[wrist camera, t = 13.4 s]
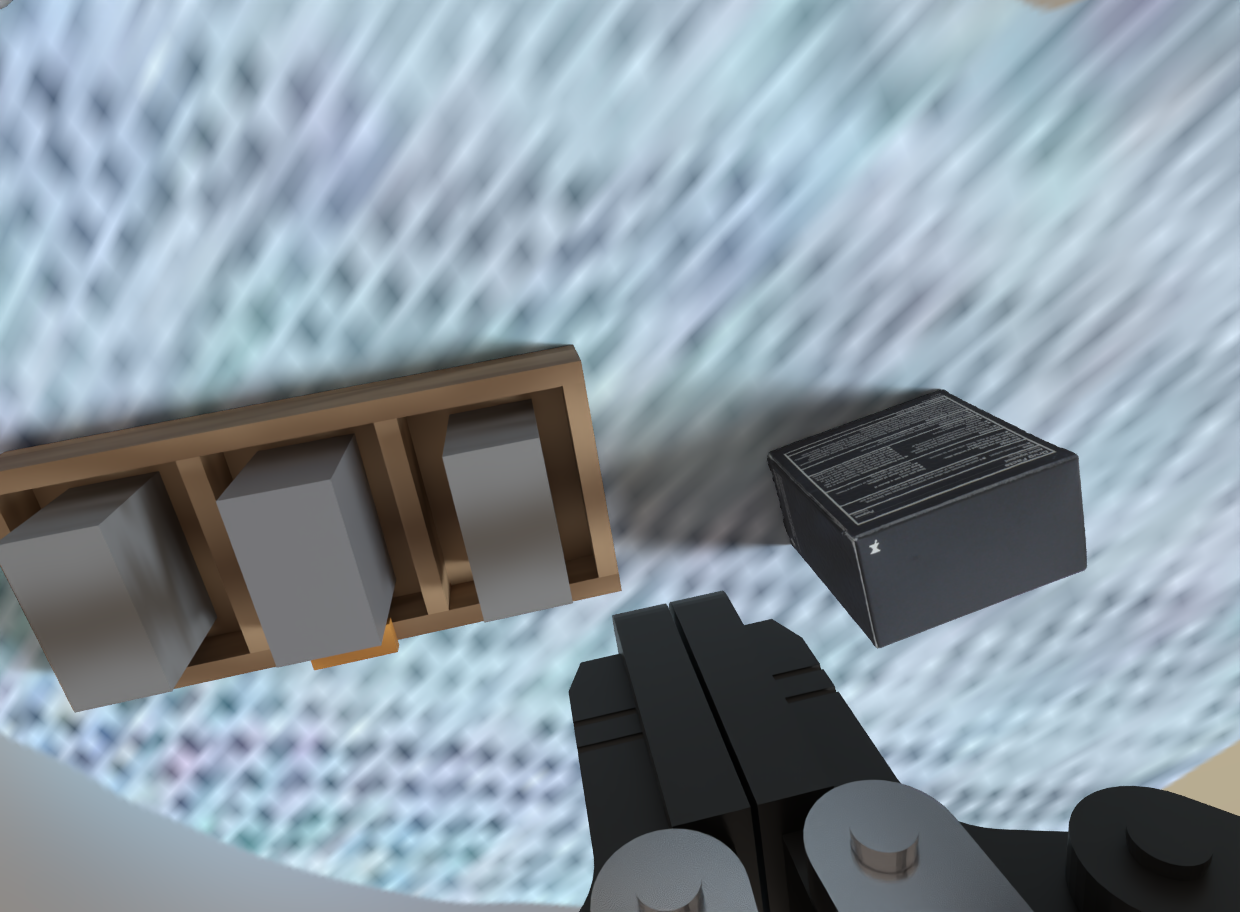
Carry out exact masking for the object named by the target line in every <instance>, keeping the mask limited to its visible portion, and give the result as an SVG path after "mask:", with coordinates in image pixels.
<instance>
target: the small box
mask: <svg viewBox="0 0 1240 912" xmlns="http://www.w3.org/2000/svg"><path fill="white" fill-rule="evenodd" d="M767 461H768V465H769V468H770V470H771V471H772V474H773V481H774V482H775V486H776V490H777V495H778V497H779V501H780V508H781V509H782V512H783V516H784V519H783V522H784V524H785V528H786V531H787V533H788V536H789V538H790V542H791V545H792V546H793V547H794V548H795V549H796V550H797V551H798V553H799V554H800V555H801V556H802V558H803V559H804V560H805V561H806V562H807V563H808V565H809V566H810V567H811V568H812V570H813V571H814V572H815V573H816V575H817V576H818V577H819V578H820V579H821V580H822V582H823V583H824V584H825V585H826V586H827V587H828V589H829V590H830V591H831V593H832V594H833V595H834V596H835V597H836V599H837V600H838V601H839V602H840V604H841V605H842V606H843V607H844V608H845V610H846V611H847V612H848V614H849V615H850V616H851V617H852V618H853V620H854V621H855V622H856V623H857V624H858V625H859V627H860V628H861V629H862V630H863V632H864V633H865V634H866V635H867V636H868V638H869V639H870V640H871V642H872V643H873V645H874V646H875V647H876V648H882V647H884V646H887V645H889V644H892V643H894V642H897V641H900V640H902V639H905V638H908V637H910V636H913V635H916V634H918V633H921V632H923V631H926V630H928V629H931V628H933V627H936V626H939V625H941V624H944V623H946V622H949V621H952V620H954V619H957V618H959V617H962V616H965V615H967V614H970V613H973V612H975V611H978V610H981V609H983V608H986V607H988V606H991V605H994V604H996V603H999V602H1002V601H1004V600H1007V599H1009V598H1012V597H1015V596H1017V595H1020V594H1023V593H1025V592H1028V591H1030V590H1033V589H1036V588H1038V587H1041V586H1044V585H1046V584H1049V583H1052V582H1054V581H1057V580H1060V579H1063V578H1065V577H1068V576H1070V575H1073V574H1076V573H1079V572H1081V571H1084V570H1085V569H1086V568H1087V551H1086V537H1085V527H1084V514H1083V504H1082V492H1081V480H1080V470H1079V458H1078V455H1077V454H1075V453H1073V452H1071V451H1069V450H1067V449H1064V448H1060V447H1057V446H1056V445H1054V444H1051V443H1049V442H1046V441H1044V440H1042V439H1040V438H1038V437H1035V436H1034V435H1032V434H1029V433H1026V432H1025V431H1024V430H1021V429H1019V428H1018V427H1016V426H1014V425H1012V424H1010V423H1007V422H1005V421H1004V420H1001V419H1000V418H997V417H995V416H993V415H992V414H989V413H987V412H985V411H984V410H981V409H979V408H977V407H976V406H974V405H971V404H969V403H967V402H965V401H963V400H962V399H960V398H958V397H956V396H954V395H952V394H950V393H949V392H947V391H946V390H939V391H937V392H934V393H931V394H928V395H926V396H923V397H919V398H917V399H914V400H912V401H908V402H906V403H903V404H900V405H898V406H895V407H892V408H889V409H886V410H884V411H881V412H878V413H875V414H873V415H870V416H867V417H865V418H862V419H859V420H856V421H854V422H851V423H848V424H845V425H843V426H840V427H837V428H834V429H831V430H829V431H826V432H823V433H821V434H818V435H815V436H812V437H809V438H807V439H804V440H801V441H798V442H796V443H793V444H791V445H788V446H785V447H783V448H780V449H777V450H775V451H771V452H769V455H768V458H767Z"/></svg>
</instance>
